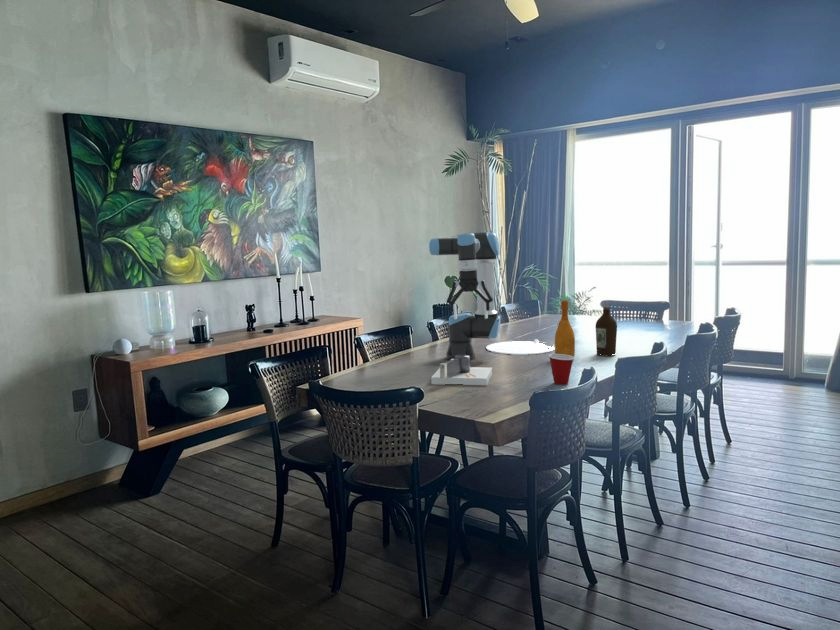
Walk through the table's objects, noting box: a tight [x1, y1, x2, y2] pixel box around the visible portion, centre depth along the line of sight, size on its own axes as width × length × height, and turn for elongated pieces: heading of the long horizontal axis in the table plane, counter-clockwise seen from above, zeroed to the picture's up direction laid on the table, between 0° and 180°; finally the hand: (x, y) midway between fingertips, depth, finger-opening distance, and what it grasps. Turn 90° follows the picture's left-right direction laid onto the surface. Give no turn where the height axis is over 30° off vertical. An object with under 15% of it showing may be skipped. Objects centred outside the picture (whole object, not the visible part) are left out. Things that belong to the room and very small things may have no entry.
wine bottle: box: [554, 300, 576, 357], centre depth 307 cm, size 10×10×30 cm
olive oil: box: [595, 306, 618, 355], centre depth 316 cm, size 11×11×25 cm
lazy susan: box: [485, 338, 555, 356], centre depth 343 cm, size 40×39×3 cm
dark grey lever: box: [439, 354, 471, 379], centre depth 267 cm, size 21×6×7 cm, turn 148°
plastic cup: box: [548, 353, 576, 386], centre depth 259 cm, size 11×11×12 cm
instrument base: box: [430, 359, 493, 386], centre depth 273 cm, size 22×24×7 cm
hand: (470, 318), depth 266 cm, fingers open, 13 cm apart
